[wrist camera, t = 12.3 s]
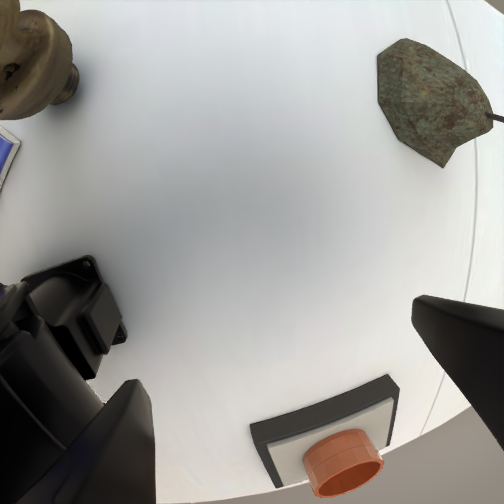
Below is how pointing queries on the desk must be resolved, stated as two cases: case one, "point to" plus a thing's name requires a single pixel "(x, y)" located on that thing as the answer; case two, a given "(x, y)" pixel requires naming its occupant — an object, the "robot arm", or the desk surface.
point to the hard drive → (6, 152)
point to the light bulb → (33, 62)
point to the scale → (325, 427)
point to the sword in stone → (431, 100)
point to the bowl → (341, 463)
